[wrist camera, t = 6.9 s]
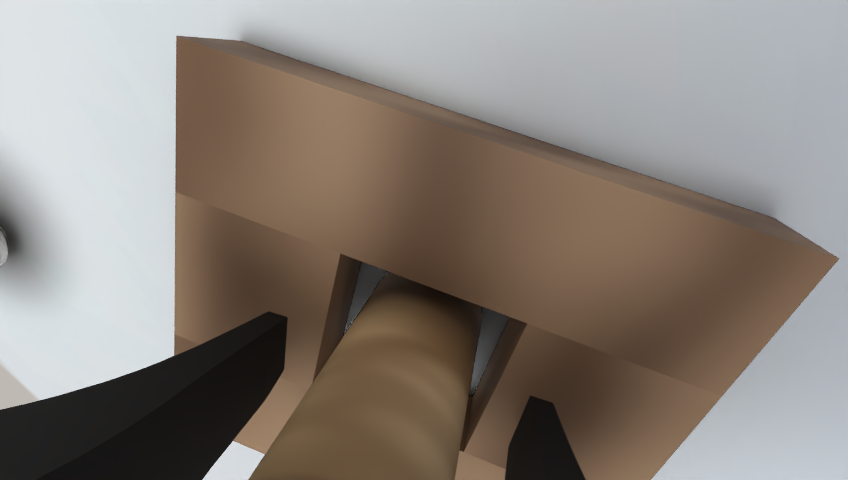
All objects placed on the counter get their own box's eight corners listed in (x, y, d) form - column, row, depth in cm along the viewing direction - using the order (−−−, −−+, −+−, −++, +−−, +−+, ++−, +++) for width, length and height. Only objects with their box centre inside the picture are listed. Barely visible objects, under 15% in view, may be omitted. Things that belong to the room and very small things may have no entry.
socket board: (775, 218, 11) (839, 258, 9) (558, 514, 17) (563, 581, 15) (239, 40, 12) (176, 35, 10) (216, 372, 19) (173, 415, 16)
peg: (492, 279, 14) (457, 520, 6) (469, 370, 15) (419, 641, 8) (378, 251, 14) (229, 444, 7) (367, 342, 16) (237, 572, 9)
